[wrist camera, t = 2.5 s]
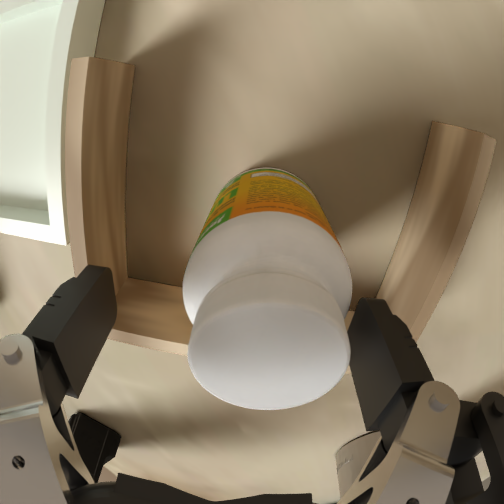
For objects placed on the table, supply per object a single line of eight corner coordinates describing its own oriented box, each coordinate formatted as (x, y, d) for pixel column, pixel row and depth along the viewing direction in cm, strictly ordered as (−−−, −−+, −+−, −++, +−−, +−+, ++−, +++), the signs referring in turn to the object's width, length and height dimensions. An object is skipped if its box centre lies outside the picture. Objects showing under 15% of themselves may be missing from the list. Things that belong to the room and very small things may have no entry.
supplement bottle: (229, 151, 14) (174, 237, 5) (334, 185, 15) (421, 306, 6) (202, 248, 17) (150, 399, 8) (297, 275, 17) (320, 431, 8)
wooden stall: (443, 125, 13) (496, 140, 9) (375, 323, 19) (395, 374, 15) (120, 65, 12) (71, 58, 8) (117, 285, 18) (86, 332, 14)
